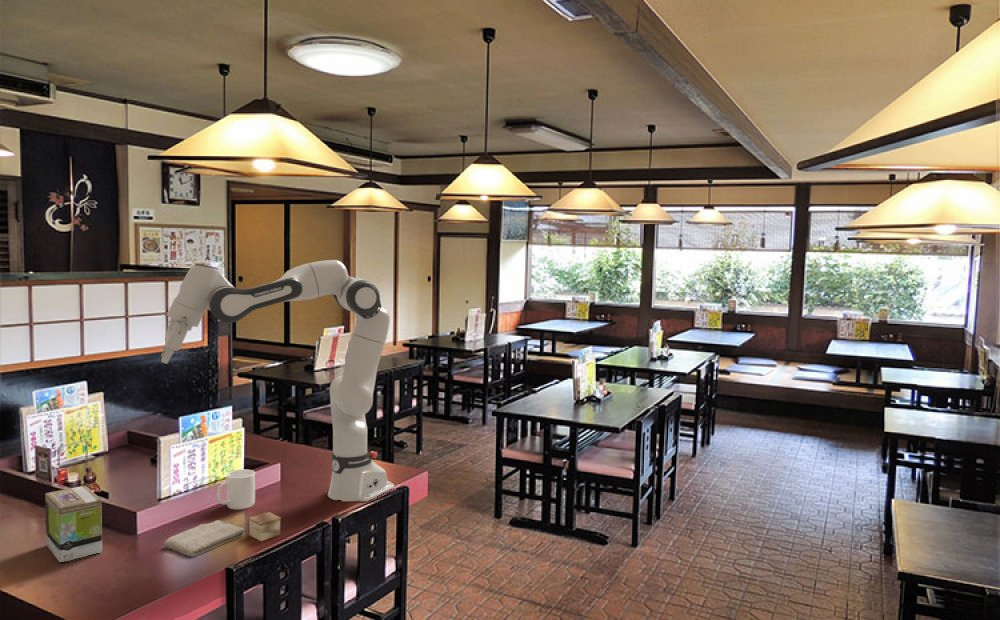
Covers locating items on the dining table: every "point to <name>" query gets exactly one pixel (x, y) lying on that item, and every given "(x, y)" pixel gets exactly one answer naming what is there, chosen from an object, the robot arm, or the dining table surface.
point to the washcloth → (204, 538)
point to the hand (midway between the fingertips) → (163, 360)
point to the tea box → (73, 523)
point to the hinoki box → (264, 526)
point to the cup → (239, 489)
